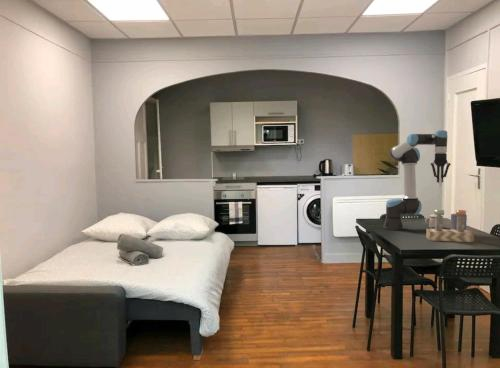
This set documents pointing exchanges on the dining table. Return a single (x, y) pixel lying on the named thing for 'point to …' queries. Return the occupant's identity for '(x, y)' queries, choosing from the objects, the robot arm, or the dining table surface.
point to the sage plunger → (439, 212)
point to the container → (454, 221)
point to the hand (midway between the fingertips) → (439, 187)
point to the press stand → (450, 232)
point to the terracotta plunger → (461, 213)
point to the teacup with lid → (431, 220)
